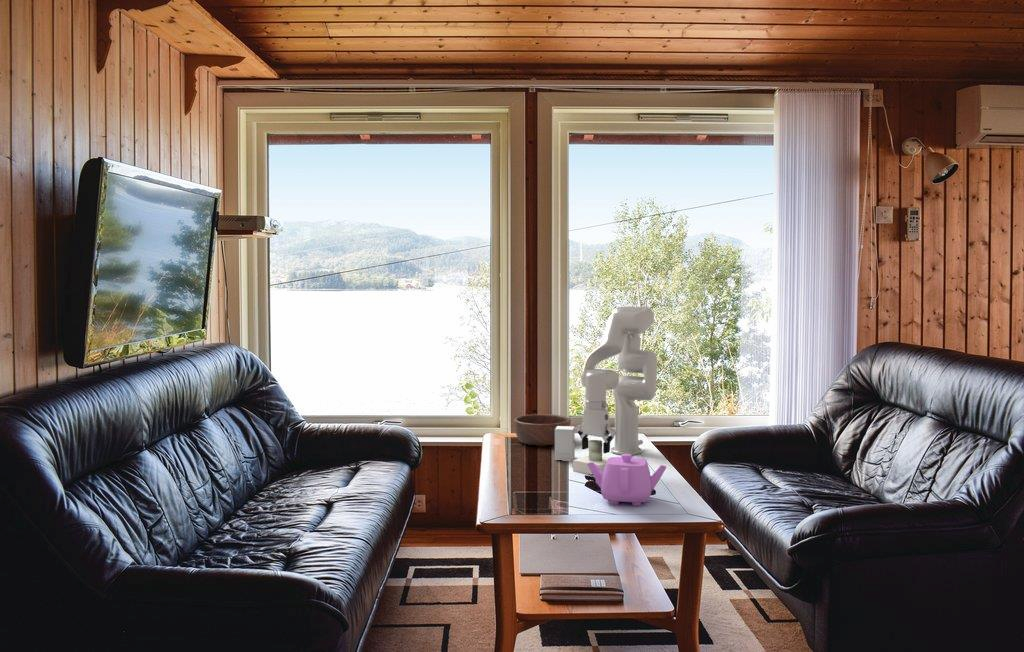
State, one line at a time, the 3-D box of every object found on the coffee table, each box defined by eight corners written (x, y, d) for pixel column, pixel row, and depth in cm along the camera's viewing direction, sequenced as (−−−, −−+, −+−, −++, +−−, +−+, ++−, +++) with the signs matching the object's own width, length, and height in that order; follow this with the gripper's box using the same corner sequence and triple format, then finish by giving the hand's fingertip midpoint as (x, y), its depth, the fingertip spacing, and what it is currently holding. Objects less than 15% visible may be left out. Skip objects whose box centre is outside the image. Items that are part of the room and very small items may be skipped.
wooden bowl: (518, 435, 344) (517, 413, 343) (572, 436, 340) (572, 414, 340) (510, 447, 319) (510, 423, 318) (568, 448, 316) (568, 424, 315)
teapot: (668, 502, 238) (668, 456, 237) (626, 513, 227) (626, 464, 226) (626, 489, 253) (626, 445, 253) (585, 498, 243) (585, 452, 242)
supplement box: (572, 461, 293) (572, 429, 292) (554, 460, 294) (554, 429, 294) (575, 457, 300) (575, 426, 300) (556, 456, 302) (556, 425, 301)
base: (591, 464, 287) (591, 454, 287) (618, 470, 279) (618, 459, 279) (573, 470, 278) (573, 460, 278) (599, 476, 270) (599, 465, 270)
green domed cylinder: (593, 457, 282) (593, 439, 282) (604, 459, 279) (604, 441, 278) (586, 459, 278) (586, 441, 278) (597, 462, 275) (597, 443, 275)
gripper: (620, 406, 274) (620, 452, 276) (583, 401, 286) (583, 445, 287) (609, 409, 269) (609, 456, 270) (571, 404, 280) (571, 449, 281)
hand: (595, 450), depth 278 cm, fingers open, 9 cm apart
